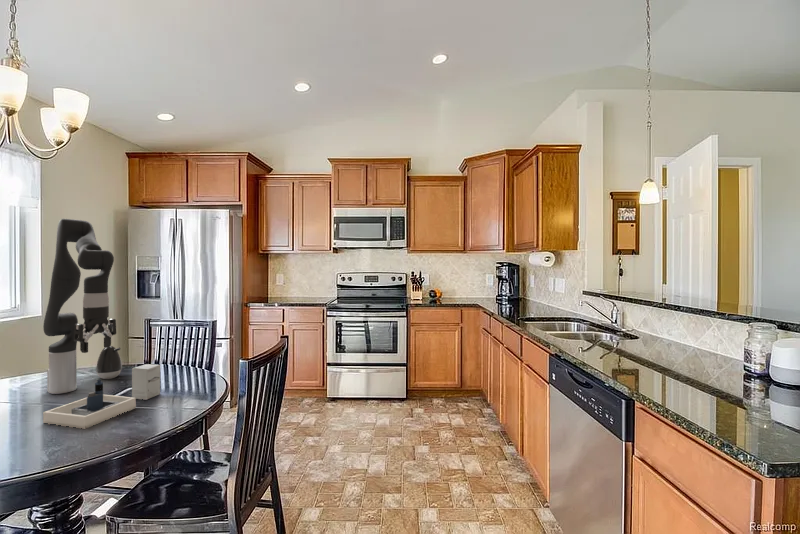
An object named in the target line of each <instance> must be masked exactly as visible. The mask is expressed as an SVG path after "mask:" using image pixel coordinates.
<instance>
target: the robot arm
mask: <svg viewBox="0 0 800 534" xmlns="http://www.w3.org/2000/svg"><path fill="white" fill-rule="evenodd" d="M55 241H56V243H55V257H54V261H53V268H52V273H51V279H50V288H49V289H50V290H49V298H48V304H47V307H46V311H45V315H44V319H43V328H42V329H43V333H44V335H46V336H47V337H58V336H63V337H62V338H61V339H60V340H58V341H55V342H54V343H50V345H49V346H48V369H47V370H46V374H47V375H46V377H47V378H46V381H47V382H46V385H47V387H46V389H47V392H48V393H49V394H51V395H52V394H53V395H55V394H56V395H58V394H66V393H69V392H73V391H75V390H77V386H78V385H77V384H78V381H77V378H78V377H77V376H78V375H77V374H78V373H77V369H78V368H77V345H78V342H79V348H80V349H79V350H80V352H81V353H84V354H86V353H88V352H89V340H90V338H91V337H92V336H94V335H96V334H102V335H103V348H109V347H110V346H112V337H113V336H115V335H117V320H116V319H115V318H110V317H109V315H110V314H109V311H110V308H109V306H110V304H109V303H110V300H109V279H110V278H109V277H110V273H111V270H112V268H113V265H114V261H115V257H114V254H113V253H112V252H111V251H110V250H103V249H102V247H101V245H100V244H99V243H98V242H97V237H96V234H95V230H94V227H93V225H92V223H90V222H89V221H86V220H81V219H73V218H72V219H71V218H61V219H59V221H58V224H57V230H56V240H55ZM68 243H75V250H76V252H77V254H78V255H77V263H76V261H75V260H74V259H73V257H72V255H71V254H70V253H71V252H70V251H69V250H68ZM80 268H81V269H82V270H88V271H90V270H92V271H93V270H96V271H98V270H100V272H99V273H98V274H96V275H90V276H87V277H85V278H84V279H83V296H82V318H83V320H84V322H83V323H79V320H78V315H76V314H75V313H74V312H66V313H65V312H63V313H60V311H61V309H62V307H63V305H65V303H66V302H67V301H68V300H69V299H70V298H71V297H72V296H73V295H75V293H76V292H77V291H78V289H79V287H80V281H81V276H82V275H81V273H82V272H81V270H80Z"/></svg>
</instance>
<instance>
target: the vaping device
mask: <svg viewBox="0 0 800 534" xmlns="http://www.w3.org/2000/svg"><path fill="white" fill-rule="evenodd" d="M103 394H104V382H103V381H102V380H101V379H98V380H96V382H95V383H94V391H90V392H88V394H87V397H86V398H87V410H94V411H95V410H98V409H100V408H103Z"/></svg>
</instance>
